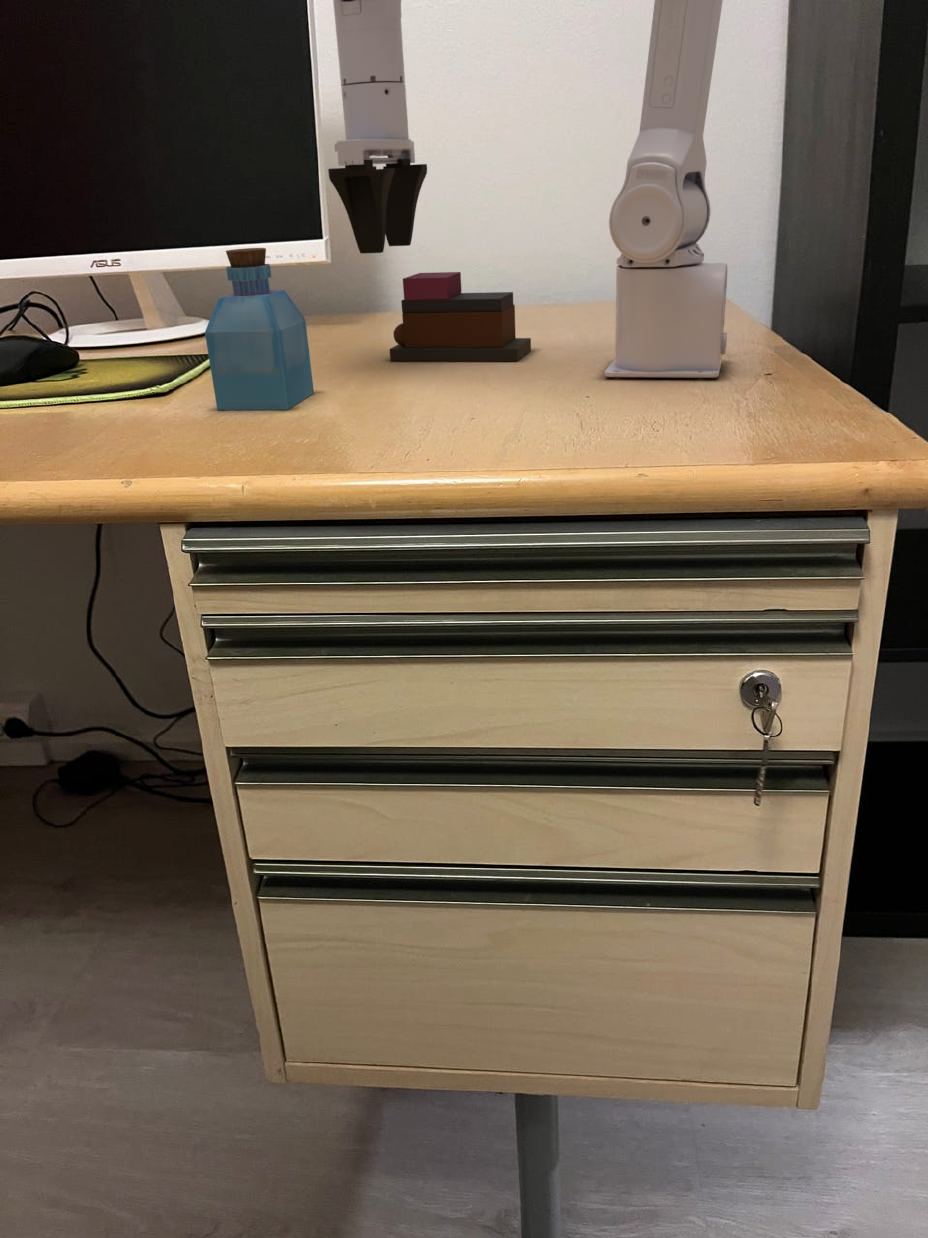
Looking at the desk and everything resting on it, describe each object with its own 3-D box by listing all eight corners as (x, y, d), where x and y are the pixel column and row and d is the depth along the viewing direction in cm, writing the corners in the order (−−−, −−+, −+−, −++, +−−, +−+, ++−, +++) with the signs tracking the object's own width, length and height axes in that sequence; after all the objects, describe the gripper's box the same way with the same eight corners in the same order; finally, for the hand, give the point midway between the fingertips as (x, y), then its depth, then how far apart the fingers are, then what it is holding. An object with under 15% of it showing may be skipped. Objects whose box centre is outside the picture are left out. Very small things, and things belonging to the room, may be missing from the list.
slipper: (513, 304, 95) (512, 270, 93) (501, 311, 90) (500, 276, 89) (418, 305, 97) (416, 272, 96) (401, 313, 93) (399, 278, 92)
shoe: (531, 349, 97) (530, 303, 95) (517, 361, 91) (516, 312, 89) (410, 350, 100) (406, 305, 98) (390, 360, 95) (386, 313, 93)
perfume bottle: (288, 409, 77) (267, 251, 72) (217, 409, 78) (192, 254, 73) (314, 392, 83) (296, 244, 78) (247, 393, 84) (226, 247, 79)
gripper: (361, 92, 92) (374, 243, 98) (297, 83, 79) (316, 257, 85) (431, 87, 90) (439, 241, 96) (376, 77, 77) (390, 255, 83)
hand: (386, 249), depth 90 cm, fingers open, 7 cm apart
